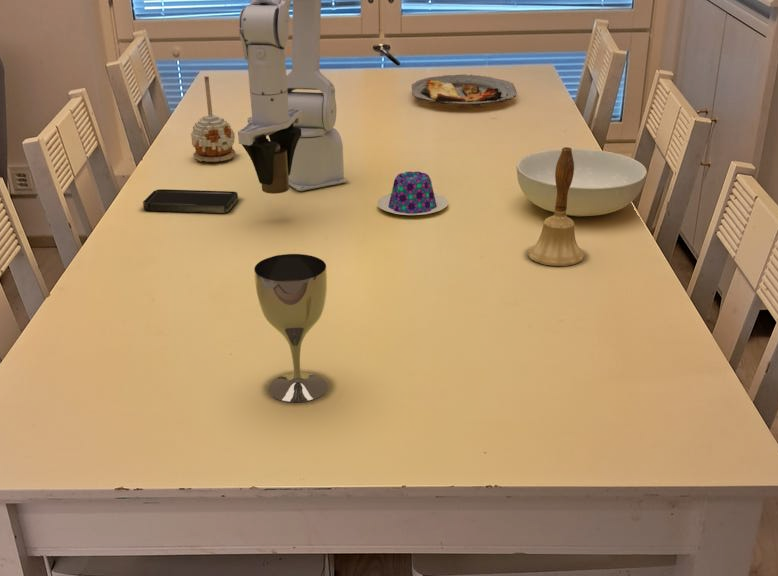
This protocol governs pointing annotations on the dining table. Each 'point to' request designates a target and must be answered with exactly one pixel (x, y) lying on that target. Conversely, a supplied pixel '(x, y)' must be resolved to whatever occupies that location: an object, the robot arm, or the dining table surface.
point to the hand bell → (559, 223)
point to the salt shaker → (278, 173)
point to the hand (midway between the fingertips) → (275, 179)
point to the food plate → (463, 90)
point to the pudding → (412, 196)
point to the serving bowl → (583, 181)
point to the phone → (190, 201)
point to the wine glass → (293, 315)
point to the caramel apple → (212, 135)
